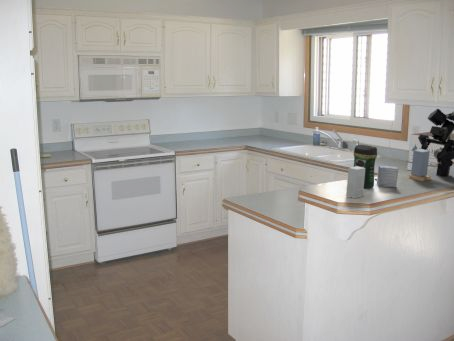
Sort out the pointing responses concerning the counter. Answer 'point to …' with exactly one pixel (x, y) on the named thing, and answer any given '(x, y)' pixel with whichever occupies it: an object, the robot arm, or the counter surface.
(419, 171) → the slate block
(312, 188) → the counter surface
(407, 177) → the bottom slab
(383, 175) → the medicine box
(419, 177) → the top slab
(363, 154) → the coffee jar
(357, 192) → the skincare box
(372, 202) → the counter surface
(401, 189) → the counter surface
